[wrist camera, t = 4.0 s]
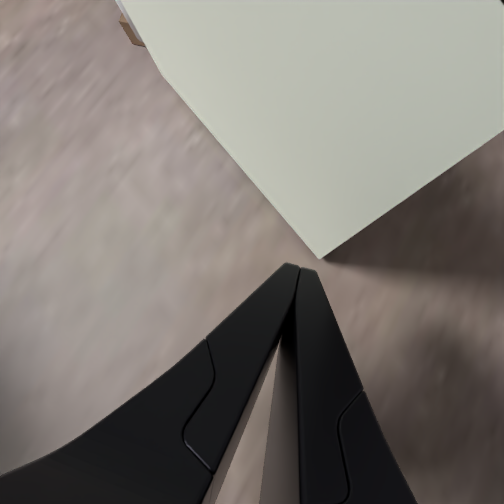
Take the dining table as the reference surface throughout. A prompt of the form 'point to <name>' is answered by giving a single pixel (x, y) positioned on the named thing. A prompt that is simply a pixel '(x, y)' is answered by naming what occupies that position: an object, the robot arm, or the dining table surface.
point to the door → (334, 95)
